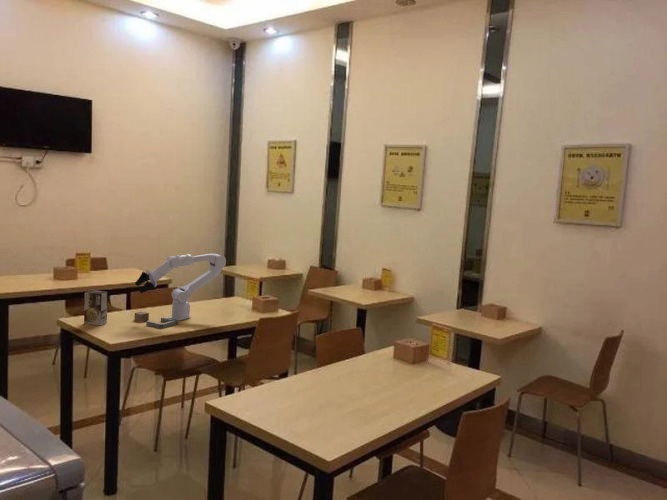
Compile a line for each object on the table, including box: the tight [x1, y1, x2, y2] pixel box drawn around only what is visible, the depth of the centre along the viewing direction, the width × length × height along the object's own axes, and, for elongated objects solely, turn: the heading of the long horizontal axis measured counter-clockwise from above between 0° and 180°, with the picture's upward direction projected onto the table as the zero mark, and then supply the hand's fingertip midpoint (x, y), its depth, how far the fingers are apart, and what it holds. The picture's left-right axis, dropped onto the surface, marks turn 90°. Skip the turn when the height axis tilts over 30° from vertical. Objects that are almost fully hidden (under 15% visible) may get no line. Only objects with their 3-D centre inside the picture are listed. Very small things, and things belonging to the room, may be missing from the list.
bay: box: [145, 316, 179, 329], centre depth 280 cm, size 12×10×2 cm
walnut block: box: [134, 311, 150, 323], centre depth 286 cm, size 5×5×4 cm
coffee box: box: [83, 289, 109, 326], centre depth 272 cm, size 9×6×16 cm
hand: (138, 288), depth 281 cm, fingers open, 7 cm apart
